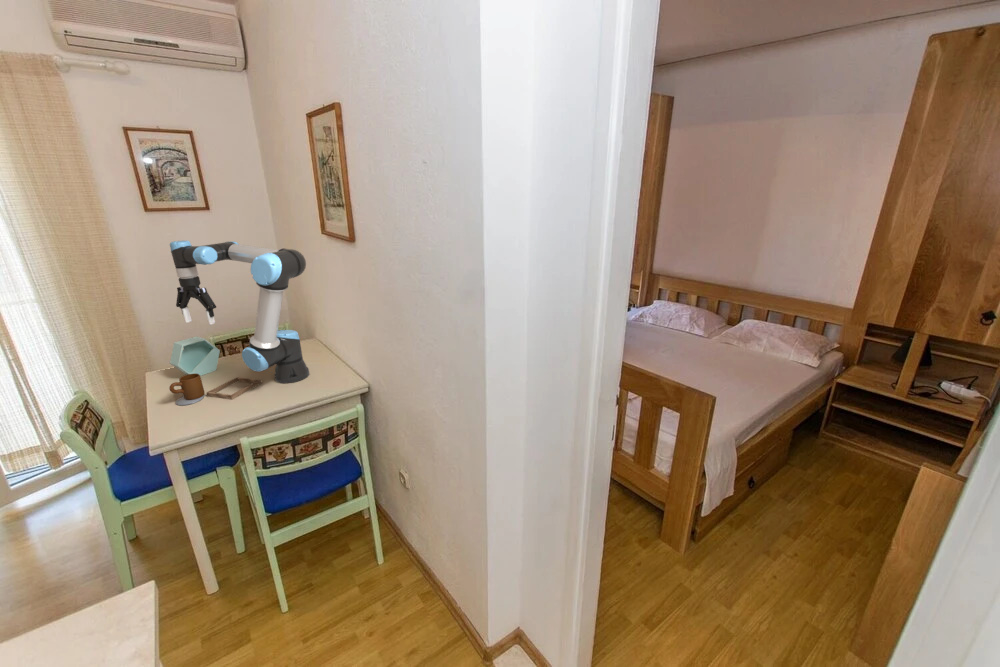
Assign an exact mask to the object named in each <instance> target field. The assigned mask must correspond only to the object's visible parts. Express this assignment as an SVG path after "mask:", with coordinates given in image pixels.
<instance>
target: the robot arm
mask: <svg viewBox="0 0 1000 667" xmlns="http://www.w3.org/2000/svg"><path fill="white" fill-rule="evenodd" d="M169 246H170V247H169V248H170V253H171V256H172V260H173V264H174V266H175V271H176V272H175V273H176V276H177V277H178V282H179V286H178V287H177V288H176V289H177V290H176V292H177V295H176V303H175V307H176V308H179V309H180V310H181V314H182V317H183V319H184V322H185V324H186V323H188V324H189V323H190V322H193V321H192V319H193V318H192V317H191V312H190V309H189V306H188V304H189V302H190V300H191V298H193V299H195V300H198V303H200V304H201V305H202V306H203V307H204V309H205V314H206V319H207V322H208V325H210V326H211V325H214V324H216V320H215V313H214V309H216V308H217V305H216V304H215V302H214V300H213V299H212V297H211V296H210V294H209V292H208V291H207V290H208V289H207V287H200V285H201V284H202V283H201V280H200V276H199V272H198V268H197V265H204V266H205V265H212V264H215V263H217V262H221V261H227V260H228V261H235V262H241V263H246V264H247V263H248V264H250V274H251V275H252V279H253V280H254V281H255V284H256V285H257V286H258V288H259V291H258V292H259V293H258V300H257V309H256V318H255V319H256V320H255V326H254V327H255V329H254V334H253V335H252V336H251V337H249V338H250V339H249V343H248V346H247V347H244V349H243V350H242V352H241V359H242V360H243V363H244V364H245V365H246V366H247V367H248V368H249V369H250V370H252V371H254V372H262V371H265V370H267V369H269V368H272V367H274V366H275V372H274V381H275V382H276V383H279V384H290V383H291V384H292V383H296V382H300V381H303V380H305V379H306V378H308V377H309V376H310V375H311V374H310V368H309V367H308V366H307V363H306V362H305V360H304V356H303V351H302V346H301V341H300V340H301V339H300V338H301V337H300V336H299V332H298V331H296V330H295V329H294V330H293V329H280V330H279V325H280V324H279V323H280V318H281V310H282V303H283V295H284V291H285V290H287V289H288V288H289V283H290V280H291V279H294V278H297V277H299V276H300V275H302V274H303V273H304V272H305V269H306V267H307V262H306V261H307V260H306V258H305V256H304V255H303V253H301V252H300V251H298V250H296V249H293V248H292V249H291V248H279V249H273V248H267V247H260V246H259V247H258V246H252V245H245V244H240V243H238V242H237V241H225V242H224V241H223V242H218V243H211V244H204V245H195V246H194V245H192V243H191V241H189V240H176V241H175V240H174V241H171V242H170V243H169Z"/></svg>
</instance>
